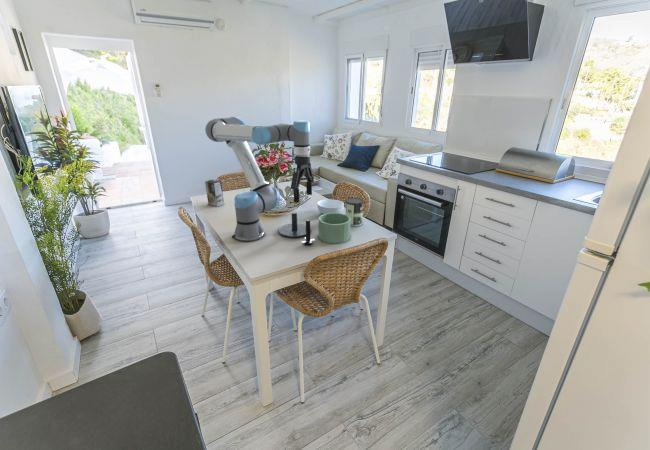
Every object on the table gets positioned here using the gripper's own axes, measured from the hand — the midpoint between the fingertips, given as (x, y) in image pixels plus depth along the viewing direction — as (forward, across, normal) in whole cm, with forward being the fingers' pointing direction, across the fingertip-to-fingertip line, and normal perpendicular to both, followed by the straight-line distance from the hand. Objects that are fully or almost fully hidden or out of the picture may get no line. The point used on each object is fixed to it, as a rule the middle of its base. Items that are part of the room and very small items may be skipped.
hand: (303, 198), depth 156 cm
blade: (+23, -3, -4) cm, 23 cm away
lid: (+22, +7, +10) cm, 25 cm away
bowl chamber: (+23, +10, -13) cm, 28 cm away
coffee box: (+22, +24, +80) cm, 86 cm away
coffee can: (+23, +32, -16) cm, 43 cm away
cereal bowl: (+23, +41, +2) cm, 47 cm away
